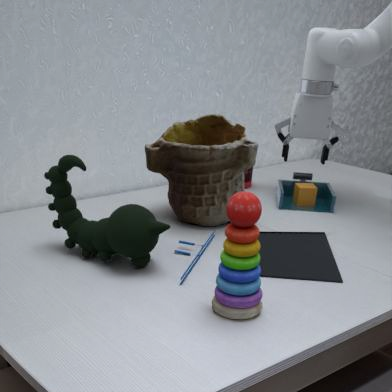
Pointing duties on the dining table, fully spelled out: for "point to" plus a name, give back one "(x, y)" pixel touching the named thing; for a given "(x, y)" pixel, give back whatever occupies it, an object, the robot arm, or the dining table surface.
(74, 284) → the dining table surface
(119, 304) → the dining table surface
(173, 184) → the ceramic vessel
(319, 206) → the dish
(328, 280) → the mat
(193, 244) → the chopsticks
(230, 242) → the stacking toy
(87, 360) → the dining table surface
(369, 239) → the dining table surface
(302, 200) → the block
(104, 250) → the toy figurine
